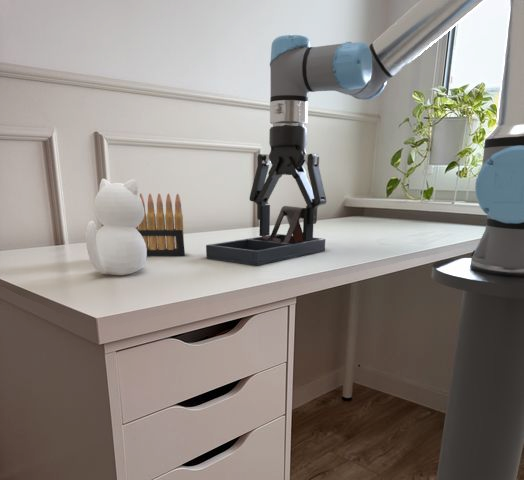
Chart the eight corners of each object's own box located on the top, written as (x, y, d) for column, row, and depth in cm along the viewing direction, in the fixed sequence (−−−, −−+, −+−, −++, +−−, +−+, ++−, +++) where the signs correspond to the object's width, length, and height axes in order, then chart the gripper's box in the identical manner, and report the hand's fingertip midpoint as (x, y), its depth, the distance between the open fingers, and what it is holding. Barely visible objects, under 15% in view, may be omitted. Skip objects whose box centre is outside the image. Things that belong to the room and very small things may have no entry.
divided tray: (324, 250, 113) (325, 238, 112) (256, 265, 95) (256, 251, 94) (278, 245, 120) (278, 233, 119) (206, 258, 102) (205, 244, 101)
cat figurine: (160, 268, 91) (155, 178, 86) (118, 282, 80) (109, 180, 75) (117, 265, 94) (110, 177, 89) (70, 277, 82) (59, 179, 78)
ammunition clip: (130, 256, 103) (126, 193, 99) (131, 254, 105) (127, 193, 101) (184, 255, 104) (182, 193, 100) (184, 254, 106) (182, 193, 102)
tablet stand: (261, 245, 114) (261, 206, 111) (292, 243, 117) (293, 205, 114) (279, 250, 106) (280, 208, 103) (312, 248, 109) (313, 207, 107)
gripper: (232, 126, 107) (233, 234, 115) (328, 122, 94) (322, 244, 102) (254, 129, 113) (254, 232, 120) (348, 125, 100) (341, 240, 107)
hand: (285, 237), depth 111 cm, fingers closed on tablet stand, 11 cm apart
